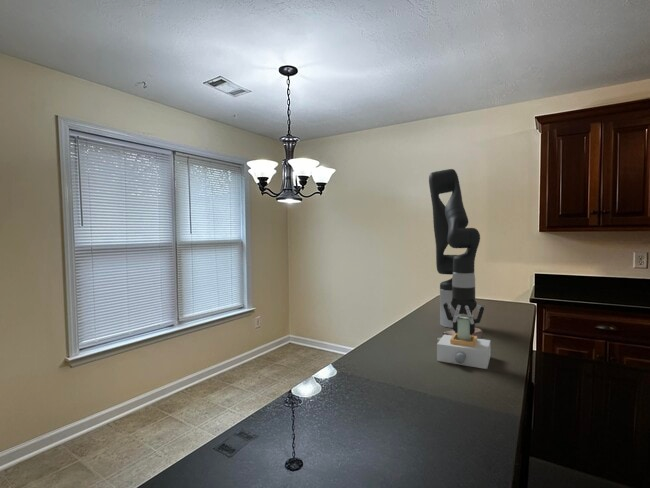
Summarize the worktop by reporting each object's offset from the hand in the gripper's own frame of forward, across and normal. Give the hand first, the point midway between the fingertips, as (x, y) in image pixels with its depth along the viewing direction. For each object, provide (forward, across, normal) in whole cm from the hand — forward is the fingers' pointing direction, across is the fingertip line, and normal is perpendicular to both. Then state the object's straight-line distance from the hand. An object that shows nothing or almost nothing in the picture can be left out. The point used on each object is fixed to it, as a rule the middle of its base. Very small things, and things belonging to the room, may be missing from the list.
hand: (463, 332), depth 125 cm
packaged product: (+10, +4, -20) cm, 23 cm away
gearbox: (+9, 0, +2) cm, 9 cm away
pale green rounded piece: (+4, 0, 0) cm, 4 cm away
